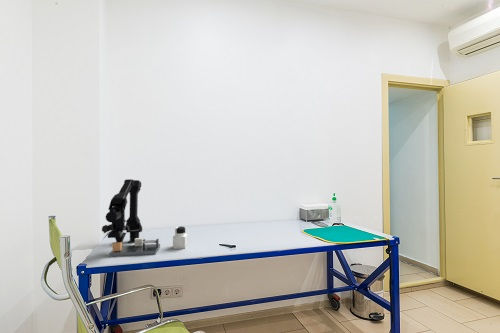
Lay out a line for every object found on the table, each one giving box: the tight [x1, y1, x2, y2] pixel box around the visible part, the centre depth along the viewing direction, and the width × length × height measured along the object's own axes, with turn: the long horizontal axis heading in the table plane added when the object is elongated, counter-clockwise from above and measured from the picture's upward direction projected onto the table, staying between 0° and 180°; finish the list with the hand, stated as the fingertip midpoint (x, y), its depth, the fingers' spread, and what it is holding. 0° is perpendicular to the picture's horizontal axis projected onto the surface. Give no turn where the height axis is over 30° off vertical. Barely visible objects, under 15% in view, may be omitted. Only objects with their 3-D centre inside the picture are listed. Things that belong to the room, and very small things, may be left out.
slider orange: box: [112, 242, 123, 251], centre depth 150 cm, size 3×4×4 cm
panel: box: [108, 238, 161, 258], centre depth 155 cm, size 14×24×7 cm, turn 99°
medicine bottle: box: [172, 226, 188, 250], centre depth 163 cm, size 7×7×12 cm
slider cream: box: [134, 237, 144, 246], centre depth 159 cm, size 3×4×4 cm
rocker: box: [143, 239, 156, 244], centre depth 156 cm, size 11×6×1 cm, turn 9°
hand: (119, 246), depth 154 cm, fingers closed
